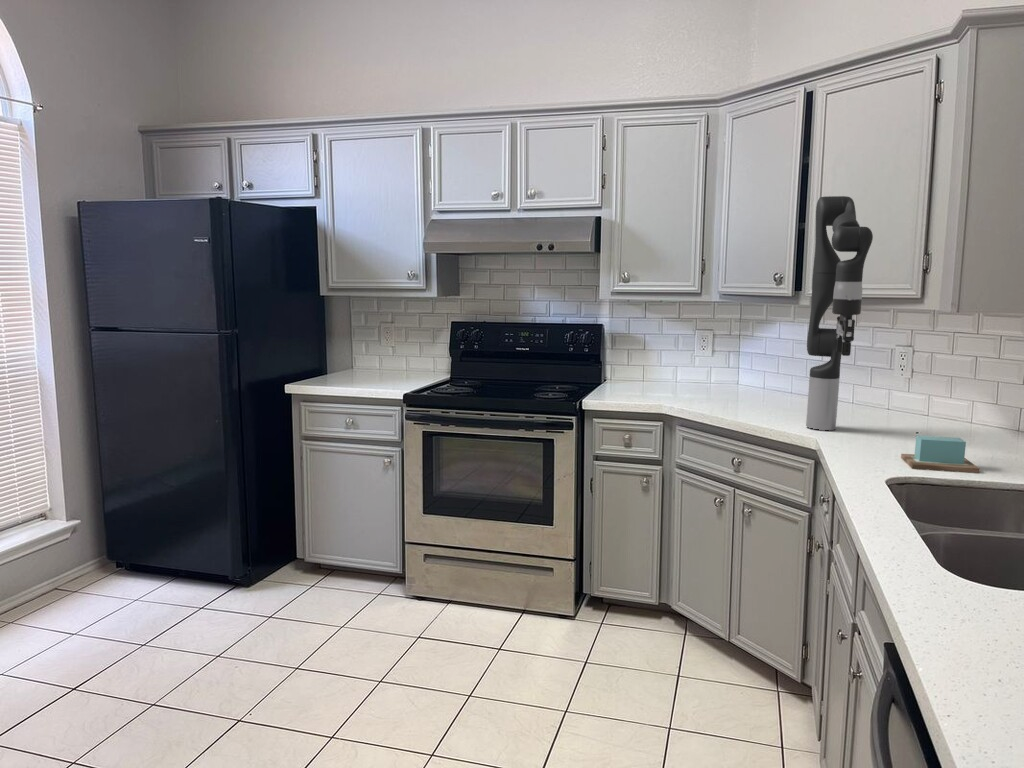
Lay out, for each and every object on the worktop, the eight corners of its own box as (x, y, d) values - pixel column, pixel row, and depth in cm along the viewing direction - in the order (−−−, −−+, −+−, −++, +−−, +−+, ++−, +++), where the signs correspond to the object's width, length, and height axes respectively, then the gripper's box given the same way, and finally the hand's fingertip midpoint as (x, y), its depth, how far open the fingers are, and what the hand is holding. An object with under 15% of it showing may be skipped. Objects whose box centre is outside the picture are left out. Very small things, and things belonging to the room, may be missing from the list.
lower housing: (914, 456, 210) (916, 435, 209) (957, 459, 207) (959, 437, 206) (919, 461, 205) (921, 439, 204) (963, 463, 202) (966, 442, 201)
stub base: (900, 457, 214) (902, 445, 213) (964, 461, 210) (965, 449, 209) (912, 468, 202) (913, 455, 202) (979, 473, 198) (980, 459, 198)
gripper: (829, 296, 225) (825, 350, 228) (837, 298, 211) (833, 356, 214) (856, 296, 223) (852, 351, 226) (866, 298, 210) (862, 357, 212)
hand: (843, 353), depth 220 cm, fingers open, 8 cm apart
